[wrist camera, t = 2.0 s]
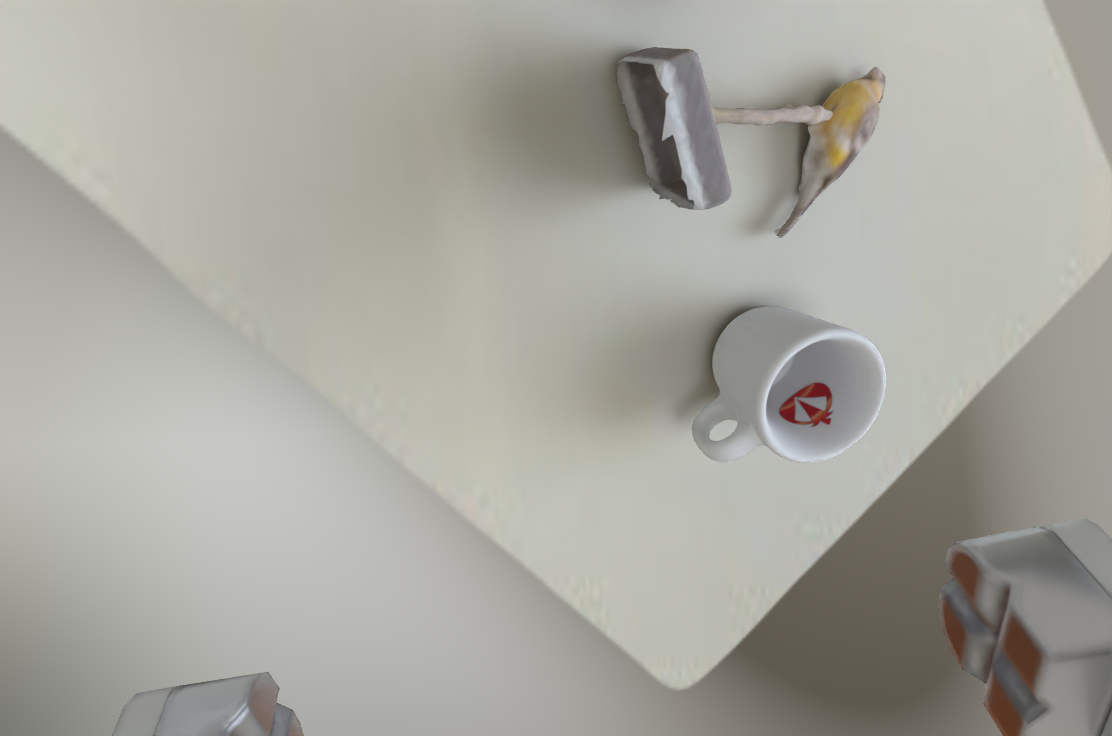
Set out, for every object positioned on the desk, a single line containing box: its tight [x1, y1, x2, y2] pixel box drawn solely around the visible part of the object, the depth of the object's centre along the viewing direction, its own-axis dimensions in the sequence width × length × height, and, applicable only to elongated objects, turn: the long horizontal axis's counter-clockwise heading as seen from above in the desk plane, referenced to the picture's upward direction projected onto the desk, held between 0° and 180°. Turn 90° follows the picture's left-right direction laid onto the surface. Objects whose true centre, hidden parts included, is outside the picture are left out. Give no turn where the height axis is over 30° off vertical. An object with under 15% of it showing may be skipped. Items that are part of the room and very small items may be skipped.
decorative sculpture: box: [616, 47, 885, 238], centre depth 41 cm, size 16×10×7 cm, turn 86°
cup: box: [692, 306, 886, 463], centre depth 46 cm, size 11×8×8 cm
